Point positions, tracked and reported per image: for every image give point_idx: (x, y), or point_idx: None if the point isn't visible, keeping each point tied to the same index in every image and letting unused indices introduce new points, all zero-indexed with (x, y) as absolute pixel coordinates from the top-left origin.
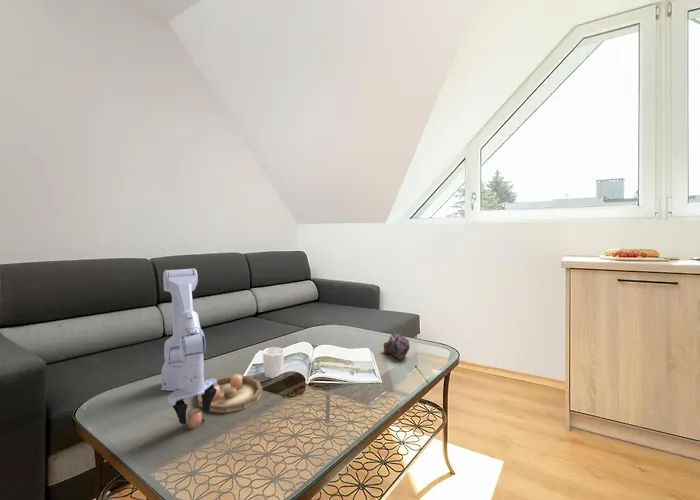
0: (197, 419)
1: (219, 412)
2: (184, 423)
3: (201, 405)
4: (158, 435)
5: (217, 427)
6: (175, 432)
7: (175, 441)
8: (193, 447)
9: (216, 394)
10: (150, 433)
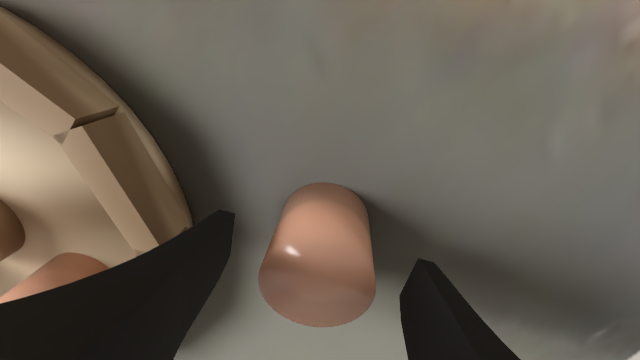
0: (340, 220)
1: (151, 159)
2: (433, 266)
3: None
4: None
5: (279, 57)
6: None
7: (513, 213)
8: (565, 51)
9: (44, 289)
10: None
